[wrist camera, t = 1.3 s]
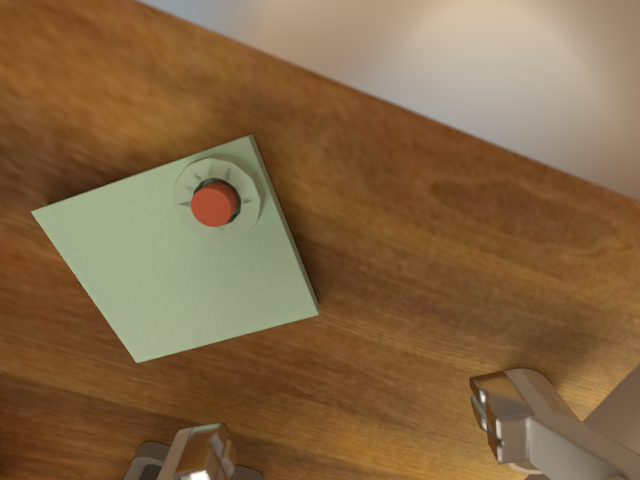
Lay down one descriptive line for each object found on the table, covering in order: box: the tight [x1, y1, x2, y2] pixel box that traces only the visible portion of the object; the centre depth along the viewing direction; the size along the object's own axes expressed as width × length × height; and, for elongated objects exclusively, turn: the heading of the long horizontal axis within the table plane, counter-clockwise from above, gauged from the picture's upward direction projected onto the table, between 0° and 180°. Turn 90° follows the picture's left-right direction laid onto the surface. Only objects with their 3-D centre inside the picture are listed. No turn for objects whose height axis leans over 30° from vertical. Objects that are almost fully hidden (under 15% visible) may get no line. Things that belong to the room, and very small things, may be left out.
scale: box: [31, 134, 319, 363], centre depth 24 cm, size 16×14×3 cm
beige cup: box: [506, 368, 582, 474], centre depth 29 cm, size 7×7×5 cm
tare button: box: [191, 182, 238, 227], centre depth 20 cm, size 2×2×2 cm
